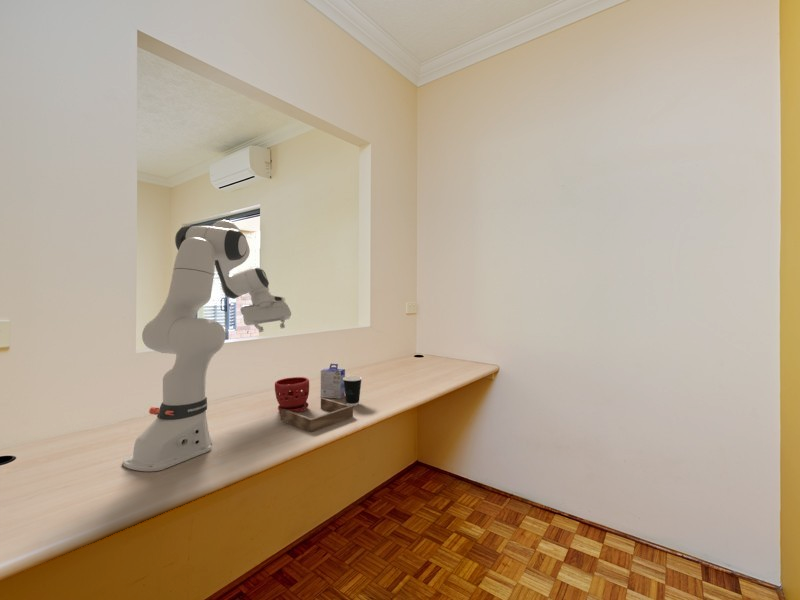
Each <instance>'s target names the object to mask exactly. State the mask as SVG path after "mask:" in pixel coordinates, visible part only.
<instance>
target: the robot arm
mask: <svg viewBox="0 0 800 600" xmlns="http://www.w3.org/2000/svg"><path fill="white" fill-rule="evenodd" d="M174 241H175V242H174V243H175V246H176V249H177V253H176V256H175V260H174V264H173V269H172V274H171V281H170V285H169V289H168V290H169V291H168V295H167V297H166V299H165V302H164V304H163V306H162V307H161V309H160V310H159V312H158V313H157V315H156V316H155V317H154V318H152V320H150V321H149V322H148V323H146V325H145V326H144V328H143V330H142V333H141V334H142V335H141V336H142V337H141V338H142V342H143V344H144V345H145V346H146V347H147V348H148V349H150V350H153V351H155V352H158V353H161V354H169V355H170V354H173V355H175V361H174V363H173V366H172V368H171V369H169V370H168V371H167V372H165V374H164V375H163V377H162V402H161V404H160V406H159V407H155V406H151V407H149V409H148V413H149V414H150V415H155V416H156V419H154V420H153V422H152V423H151V424H149V426H147V428H146V429H145V430H144V431H142V432H141V434H140V435H138V436H137V438H136V439H135V442H134V446H133V451H132V454H131V455H129V456H127V457H126V458H124V459H123V460H122V465H123V466H124V468H127V469H129V470H133V471H139V472H159V471H162V470H165V469H167V468H168V469H169V468H170V467H172V466H175V465H177V464H181V463H183V462H185V461H188V460H191V459H192V458H196V457H197V456H200V455H203V454H205V453H208V452H210V451H211V450H212V446H211V445H212V443H213V442H212V439H211V435H210V431H209V426H208V425H209V424H208V419H207V410H208V397H207V396H206V384H207V383H206V380H207V371H208V367H209V364H210V362H211V360H212V358H213V357H214V356H215V355H216V354H217V353H218V352H219V351H221V349H222V348H223V346H224V344H225V342H226V332H225V328H224V327H223V325H222V324H220V322H217V321H215V320H212V319H208V318H202V317H196V315H197V314H198V312H199V311H200V309H201V308H202V307H204V306H205V305H206V304H208V303H209V301H210V300H211V298H212V290H213V284H214V277H215V269H216V272H217V275H218V277H219V280H220V285H221V290H222V292H223V294H224V295H225V296H226V297H227V298H230V299H232V300H233V299H237V298H239V297H241V296H243V295H246V294H249V295H250V300H251V304H248V305H243V306H242V307H240V313H241V314H242V318H243V322H244V325H246V327H247V326H252V325H253V326H254V328H256V329H257V330H258V332H259V333H263V332H264V328H263V327H264V326H261V325H260V324H266V323H273V322H279V321H280V323H279V327H280V329H285V328H286V325H285V321H286V320H289V319H290V318H291V316H292V311H291V309H290V307H289V305H288V304H287V302H285V299H284V297H283V296H278V295H272V294H271V292H270V289H269V284H270V282H269V280H268V276H267V273H266V272H265V271H264V269H262V268H260V267H257V266H254V267H251V268H248V269H244V270H243V271H239V272H237V273H233V274H230V273H229V272H231V271H232V270H234V269H235V268H238V267H239V266H241V265H242V264H244V263H245V262H246V261H247V260H248V258H249V256H250V254H251V253H250V251H251V250H250V245H249V243H248V240H247V238H246V235H245V234H244V232H242V231H241V230H240V228H239V227H238V226H237V225H236V224H235V223H234V222H232V221H230V220H226V219H223V220H222V219H220V220H218V221H215V222H214V223H213V224H212V225H186V226H185V225H184V226H182V227H181V228H179V229H178V231H177V232H176V234H175V237H174Z"/></svg>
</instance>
